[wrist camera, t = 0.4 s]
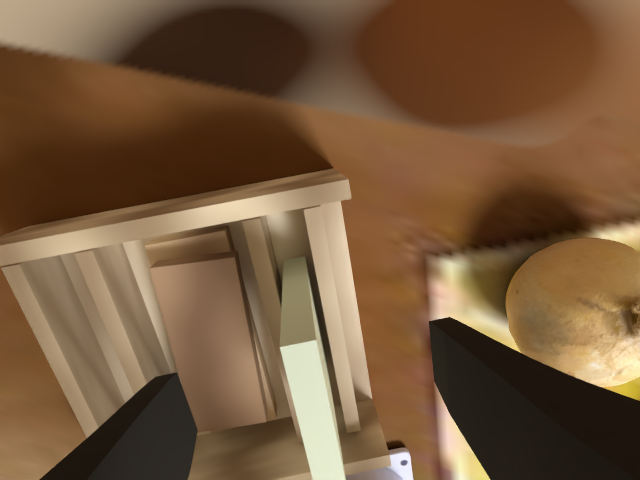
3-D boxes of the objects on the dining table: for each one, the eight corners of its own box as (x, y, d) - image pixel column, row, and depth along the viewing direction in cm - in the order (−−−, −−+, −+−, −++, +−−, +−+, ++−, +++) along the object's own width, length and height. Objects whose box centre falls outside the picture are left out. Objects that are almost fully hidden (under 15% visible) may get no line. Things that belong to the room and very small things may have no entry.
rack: (334, 168, 18) (348, 179, 14) (371, 401, 23) (391, 465, 18) (28, 225, 18) (-58, 256, 13) (132, 452, 22) (94, 529, 18)
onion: (630, 274, 22) (785, 337, 15) (540, 363, 23) (644, 457, 16) (551, 201, 20) (688, 235, 13) (458, 303, 21) (537, 382, 14)
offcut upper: (237, 250, 17) (234, 257, 16) (267, 408, 20) (266, 422, 19) (157, 260, 17) (149, 268, 16) (199, 419, 20) (195, 433, 19)
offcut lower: (228, 225, 18) (225, 230, 17) (277, 406, 21) (276, 418, 20) (152, 239, 18) (144, 245, 17) (214, 419, 21) (210, 432, 20)
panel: (305, 256, 19) (316, 339, 11) (326, 361, 21) (348, 492, 13) (283, 260, 19) (279, 347, 11) (307, 365, 21) (317, 499, 13)
